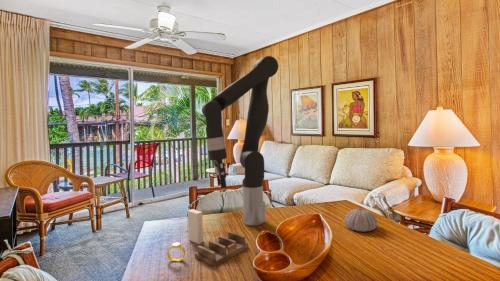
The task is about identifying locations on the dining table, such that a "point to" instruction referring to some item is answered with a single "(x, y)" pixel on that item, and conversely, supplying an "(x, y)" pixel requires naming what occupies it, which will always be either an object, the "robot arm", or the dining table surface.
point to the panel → (195, 226)
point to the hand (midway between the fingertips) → (222, 185)
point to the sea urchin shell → (360, 220)
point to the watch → (176, 245)
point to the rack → (222, 249)
